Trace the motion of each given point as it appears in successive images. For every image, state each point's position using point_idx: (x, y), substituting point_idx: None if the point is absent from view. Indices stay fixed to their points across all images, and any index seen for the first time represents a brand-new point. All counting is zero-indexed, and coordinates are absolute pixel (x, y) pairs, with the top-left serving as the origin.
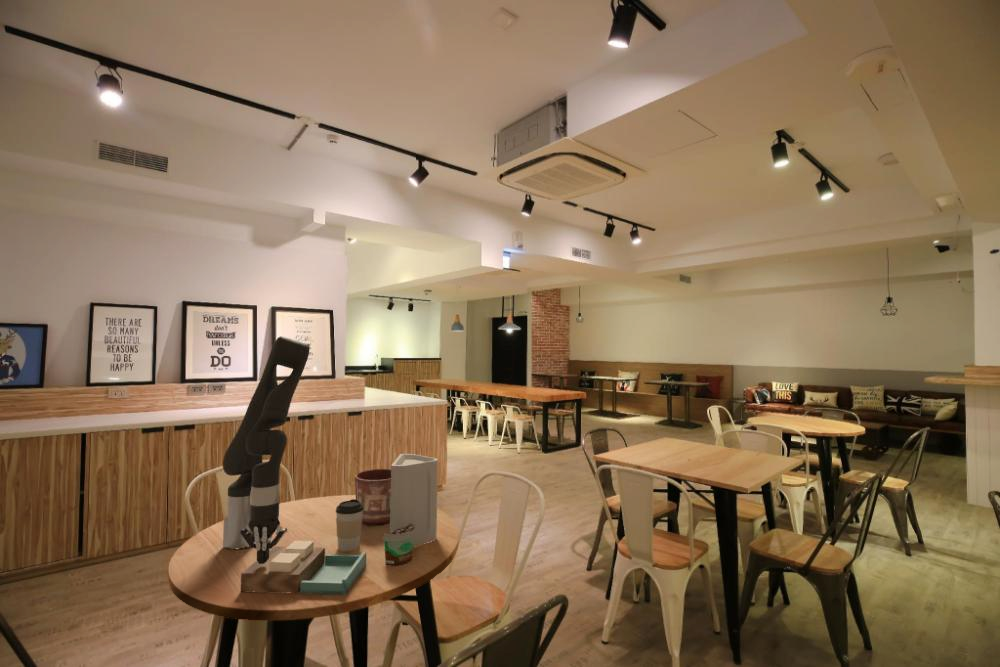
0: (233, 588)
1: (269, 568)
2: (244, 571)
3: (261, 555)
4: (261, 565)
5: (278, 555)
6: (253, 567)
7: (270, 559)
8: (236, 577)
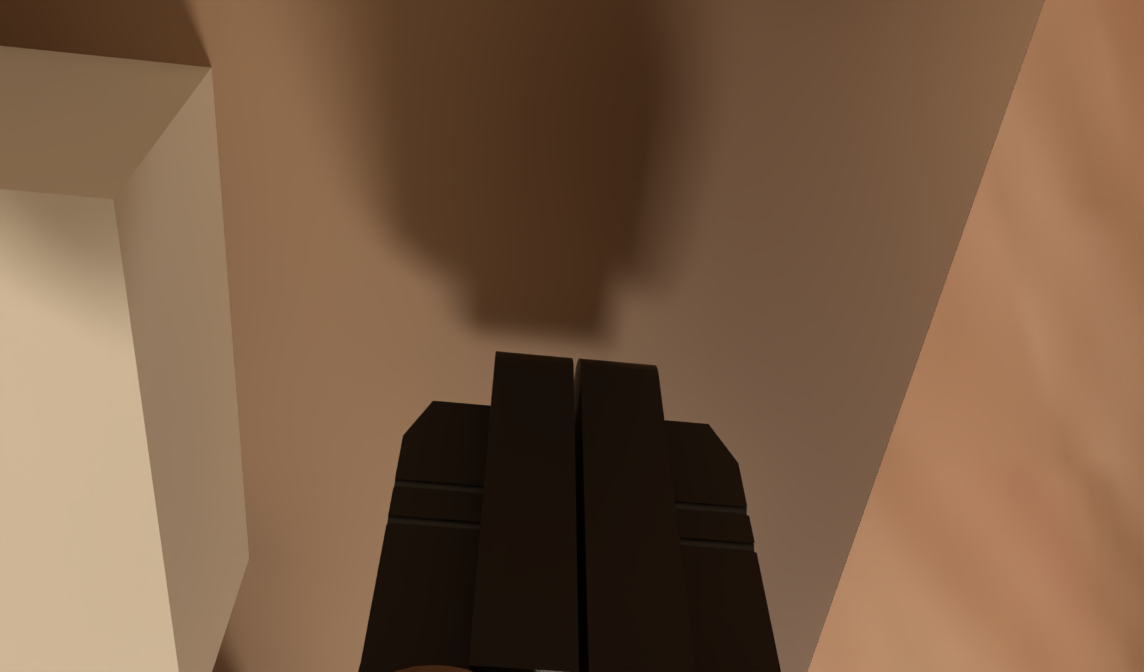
0: (1084, 31)
1: (182, 104)
2: (977, 100)
3: (560, 525)
4: None
5: (138, 628)
6: (788, 318)
7: None
8: (1112, 419)
